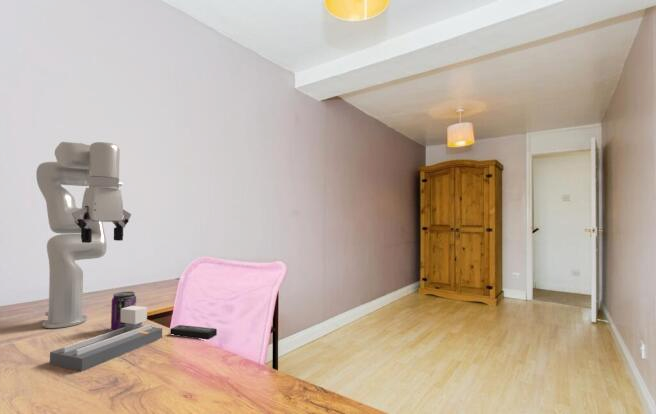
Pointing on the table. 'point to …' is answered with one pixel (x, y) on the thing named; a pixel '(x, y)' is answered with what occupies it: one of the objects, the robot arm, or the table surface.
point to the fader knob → (133, 317)
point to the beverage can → (120, 307)
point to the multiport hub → (194, 331)
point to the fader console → (103, 347)
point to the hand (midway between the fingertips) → (103, 241)
